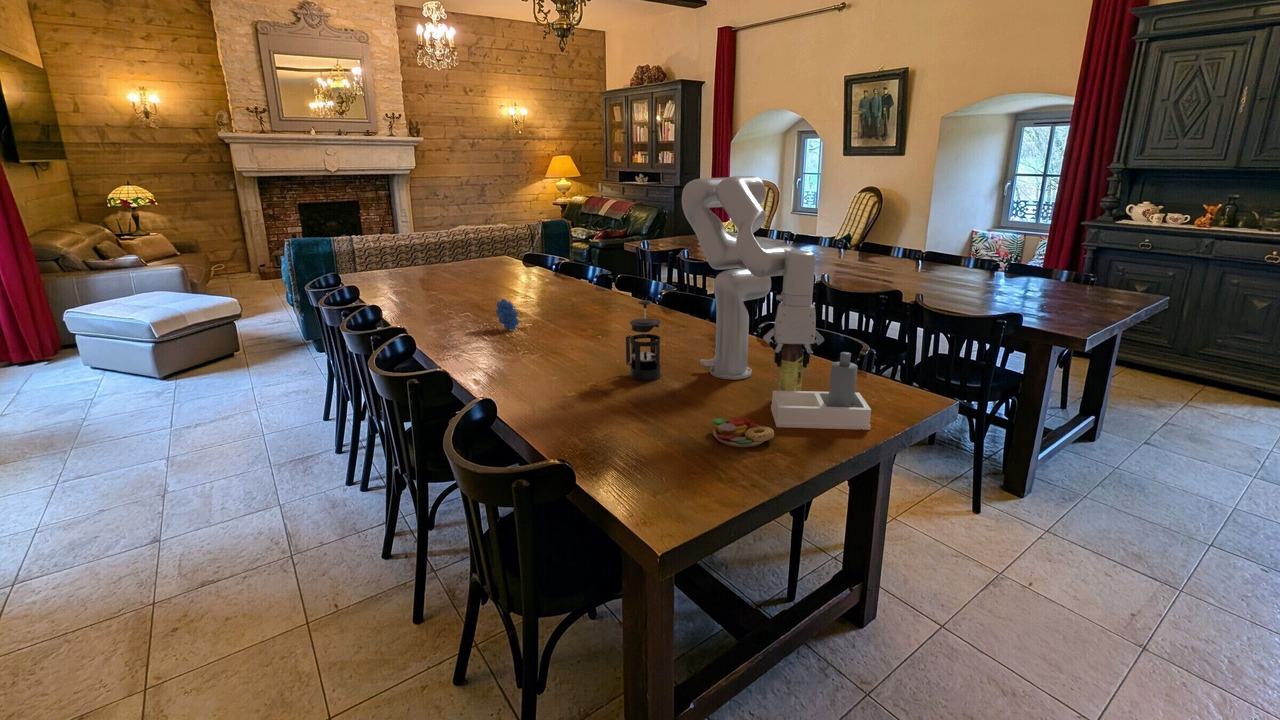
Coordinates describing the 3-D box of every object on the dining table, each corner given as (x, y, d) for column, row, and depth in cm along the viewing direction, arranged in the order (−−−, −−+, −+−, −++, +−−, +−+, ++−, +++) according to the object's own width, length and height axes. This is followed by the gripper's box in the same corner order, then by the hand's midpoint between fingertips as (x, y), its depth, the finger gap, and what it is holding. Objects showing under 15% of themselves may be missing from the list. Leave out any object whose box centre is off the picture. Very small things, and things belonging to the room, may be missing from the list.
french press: (668, 374, 183) (669, 300, 176) (652, 384, 176) (652, 306, 169) (636, 368, 189) (635, 296, 182) (619, 377, 182) (617, 302, 175)
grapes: (489, 329, 236) (487, 299, 232) (503, 326, 241) (500, 296, 237) (510, 334, 229) (507, 303, 226) (523, 330, 234) (521, 299, 231)
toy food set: (779, 446, 137) (780, 433, 136) (725, 454, 134) (726, 440, 133) (752, 423, 149) (753, 411, 148) (702, 430, 146) (703, 417, 145)
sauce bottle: (801, 400, 160) (807, 328, 154) (776, 399, 162) (782, 327, 155) (799, 391, 166) (806, 321, 160) (776, 390, 168) (782, 320, 161)
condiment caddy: (776, 427, 146) (780, 360, 141) (770, 408, 158) (774, 345, 152) (870, 429, 144) (878, 361, 139) (857, 410, 156) (864, 346, 150)
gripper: (764, 302, 153) (759, 369, 158) (834, 303, 151) (827, 371, 157) (761, 295, 160) (757, 360, 166) (828, 297, 158) (821, 362, 164)
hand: (791, 365), depth 161 cm, fingers closed on sauce bottle, 6 cm apart
